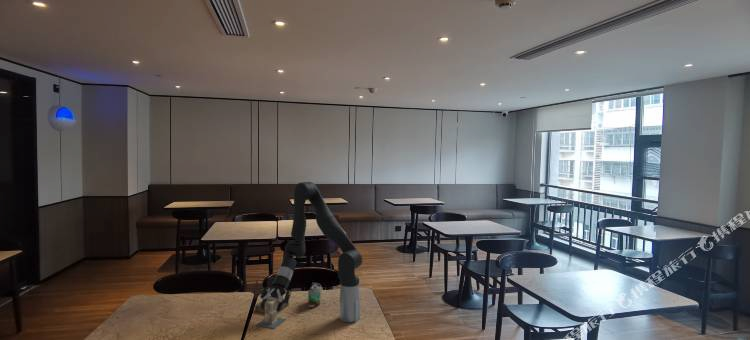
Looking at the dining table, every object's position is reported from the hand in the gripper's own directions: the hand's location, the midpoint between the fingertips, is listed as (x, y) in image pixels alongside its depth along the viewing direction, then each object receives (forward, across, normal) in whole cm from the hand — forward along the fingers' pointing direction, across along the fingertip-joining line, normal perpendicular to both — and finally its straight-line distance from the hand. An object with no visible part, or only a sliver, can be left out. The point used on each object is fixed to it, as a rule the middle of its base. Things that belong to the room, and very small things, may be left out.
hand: (269, 309), depth 179 cm
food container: (-14, +10, +24) cm, 30 cm away
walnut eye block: (-6, -9, +16) cm, 19 cm away
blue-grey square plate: (+4, 0, +6) cm, 7 cm away
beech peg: (+4, 0, +5) cm, 7 cm away
